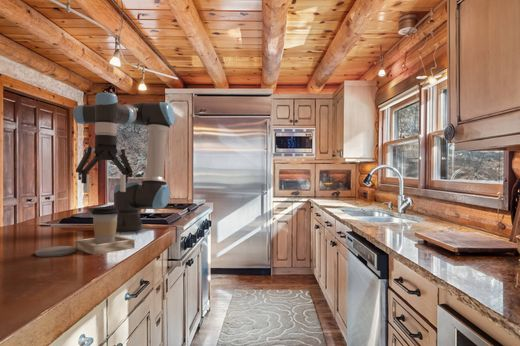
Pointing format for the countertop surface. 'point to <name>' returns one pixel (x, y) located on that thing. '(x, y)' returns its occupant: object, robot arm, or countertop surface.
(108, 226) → the coffee cup
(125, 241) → the frame
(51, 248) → the disc
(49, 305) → the countertop surface
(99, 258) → the countertop surface
